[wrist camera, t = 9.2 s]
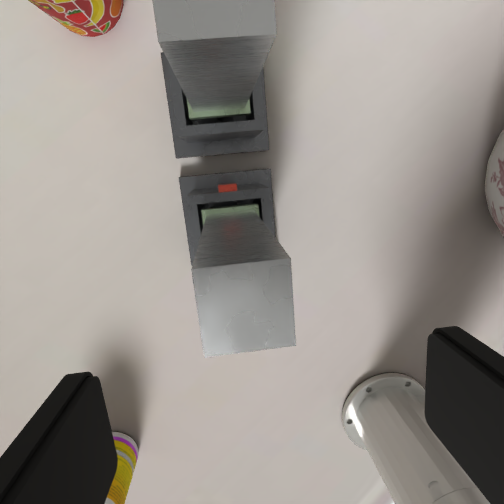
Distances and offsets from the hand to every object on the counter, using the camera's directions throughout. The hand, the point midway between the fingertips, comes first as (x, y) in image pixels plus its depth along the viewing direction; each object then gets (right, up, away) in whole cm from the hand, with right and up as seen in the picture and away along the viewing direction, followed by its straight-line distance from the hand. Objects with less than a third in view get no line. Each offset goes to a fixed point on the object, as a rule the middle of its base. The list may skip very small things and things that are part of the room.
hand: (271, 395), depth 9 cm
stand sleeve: (-3, +8, +29) cm, 30 cm away
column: (-2, +6, +22) cm, 23 cm away
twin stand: (-4, +20, +25) cm, 32 cm away
